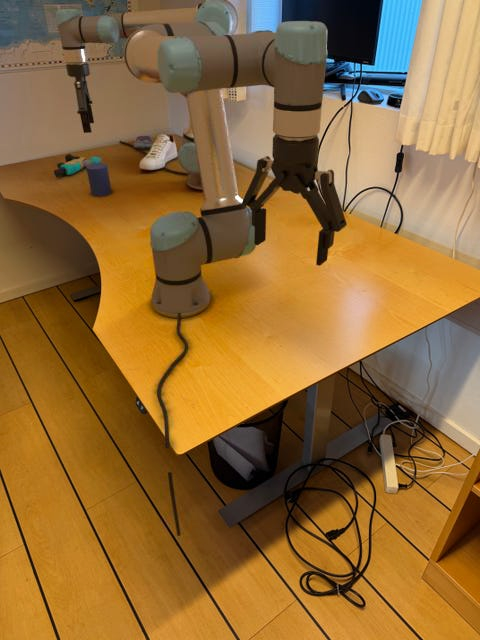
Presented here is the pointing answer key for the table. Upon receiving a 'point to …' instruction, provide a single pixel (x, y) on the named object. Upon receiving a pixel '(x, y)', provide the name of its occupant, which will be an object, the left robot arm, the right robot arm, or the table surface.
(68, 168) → the toy gun
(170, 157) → the sneaker
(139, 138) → the toy gun
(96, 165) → the can
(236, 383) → the table surface
